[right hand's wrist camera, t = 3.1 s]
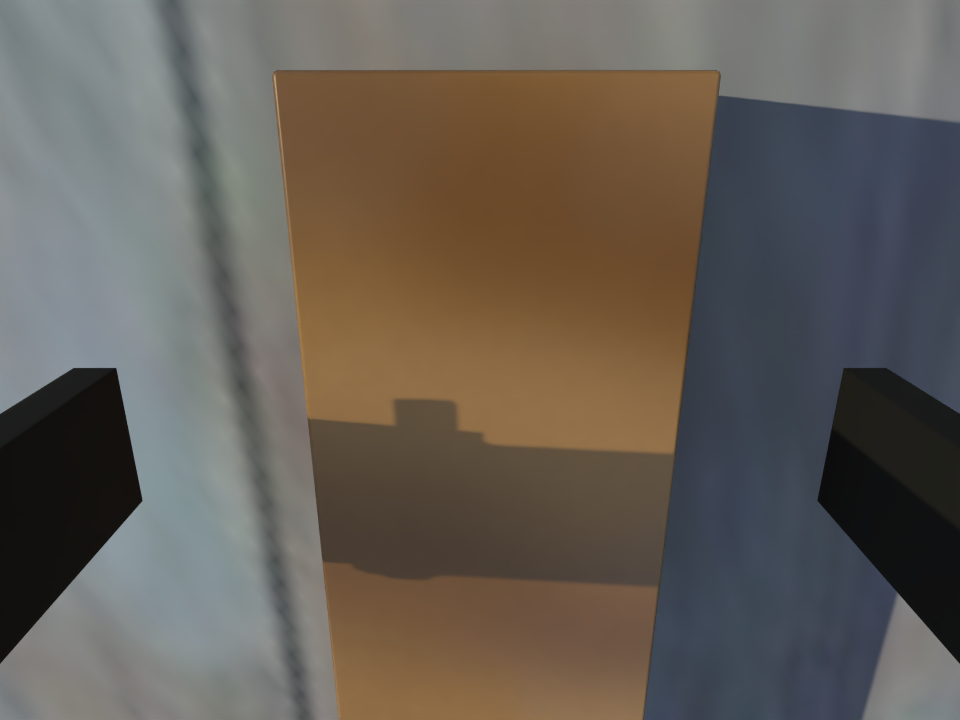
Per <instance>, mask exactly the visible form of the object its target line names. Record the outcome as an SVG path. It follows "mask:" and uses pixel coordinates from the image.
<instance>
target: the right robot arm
mask: <svg viewBox="0 0 960 720" xmlns="http://www.w3.org/2000/svg"><path fill="white" fill-rule="evenodd" d="M141 502H142V496H141V491H140V485H139V480H138V475H137V470H136V465H135V460H134V455H133V450H132V445H131V440H130V435H129V430H128V425H127V420H126V415H125V410H124V405H123V400H122V395H121V390H120V385H119V380H118V375H117V370H116V368H73V369H72V370H70V371H68V372H67V373H65V374H64V375H62V376H60V377H59V378H57V379H56V380H54V381H52V382H51V383H49V384H48V385H46V386H44V387H43V388H41V389H40V390H38V391H36V392H35V393H33V394H32V395H30V396H28V397H27V398H25V399H23V400H22V401H20V402H19V403H17V404H15V405H14V406H12V407H11V408H9V409H7V410H6V411H4V412H3V413H1V414H0V663H1V662H2V661H3V660H4V659H5V658H6V656H7V655H8V654H9V653H10V652H11V651H12V650H13V648H14V647H15V646H16V645H17V644H18V643H19V642H20V640H21V639H22V638H23V637H24V636H25V635H26V634H27V632H28V631H29V630H30V629H31V628H32V627H33V626H34V624H35V623H36V622H37V621H38V620H39V619H40V617H41V616H42V615H43V614H44V613H45V612H46V611H47V609H48V608H49V607H50V606H51V605H52V604H53V603H54V601H55V600H56V599H57V598H58V597H59V596H60V595H61V593H62V592H63V591H64V590H65V589H66V588H67V587H68V585H69V584H70V583H71V582H72V581H73V580H74V579H75V577H76V576H77V575H78V574H79V573H80V572H81V571H82V569H83V568H84V567H85V566H86V565H87V564H88V563H89V561H90V560H91V559H92V558H93V557H94V556H95V555H96V553H97V552H98V551H99V550H100V549H101V548H102V547H103V545H104V544H105V543H106V542H107V541H108V540H109V539H110V537H111V536H112V535H113V534H114V533H115V532H116V530H117V529H118V528H119V527H120V526H121V525H122V524H123V522H124V521H125V520H126V519H127V518H128V517H129V516H130V514H131V513H132V512H133V511H134V510H135V509H136V508H137V506H138V505H139V504H140V503H141ZM818 502H819V503H820V504H821V505H822V506H823V508H824V509H825V510H826V511H827V512H828V513H829V514H830V516H831V517H832V518H833V519H834V520H835V521H836V522H837V524H838V525H839V526H840V527H841V528H842V529H843V531H844V532H845V533H846V534H847V535H848V536H849V537H850V539H851V540H852V541H853V542H854V543H855V544H856V545H857V547H858V548H859V549H860V550H861V551H862V552H863V553H864V555H865V556H866V557H867V558H868V559H869V560H870V561H871V563H872V564H873V565H874V566H875V567H876V568H877V569H878V571H879V572H880V573H881V574H882V575H883V576H884V577H885V579H886V580H887V581H888V582H889V583H890V584H891V585H892V587H893V588H894V589H895V590H896V591H897V592H898V593H899V595H900V596H901V597H902V598H903V599H904V600H905V601H906V603H907V604H908V605H909V606H910V607H911V608H912V609H913V611H914V612H915V613H916V614H917V615H918V616H919V617H920V619H921V620H922V621H923V622H924V623H925V624H926V626H927V627H928V628H929V629H930V630H931V631H932V632H933V634H934V635H935V636H936V637H937V638H938V639H939V640H940V642H941V643H942V644H943V645H944V646H945V647H946V648H947V650H948V651H949V652H950V653H951V654H952V655H953V656H954V658H955V659H956V660H957V661H958V662H959V663H960V414H959V413H957V412H956V411H954V410H953V409H951V408H949V407H948V406H946V405H945V404H943V403H941V402H940V401H938V400H936V399H935V398H933V397H932V396H930V395H928V394H927V393H925V392H924V391H922V390H920V389H919V388H917V387H916V386H914V385H912V384H911V383H909V382H908V381H906V380H904V379H903V378H901V377H900V376H898V375H896V374H895V373H893V372H892V371H890V370H888V369H887V368H844V370H843V375H842V380H841V385H840V390H839V395H838V400H837V405H836V410H835V415H834V420H833V425H832V430H831V435H830V440H829V445H828V450H827V455H826V460H825V465H824V470H823V475H822V480H821V485H820V491H819V496H818Z"/></svg>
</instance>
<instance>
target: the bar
mask: <svg viewBox="0 0 960 720" xmlns="http://www.w3.org/2000/svg"><path fill="white" fill-rule="evenodd" d="M272 78H273V88H274V98H275V107H276V117H277V127H278V136H279V146H280V155H281V165H282V175H283V184H284V194H285V204H286V213H287V223H288V233H289V242H290V252H291V262H292V271H293V281H294V291H295V300H296V310H297V320H298V329H299V339H300V349H301V358H302V368H303V378H304V387H305V397H306V407H307V416H308V426H309V436H310V445H311V455H312V465H313V474H314V484H315V494H316V503H317V513H318V523H319V532H320V542H321V552H322V561H323V571H324V581H325V590H326V600H327V610H328V619H329V629H330V639H331V648H332V658H333V667H334V677H335V687H336V696H337V706H338V716H339V720H644V712H645V704H646V695H647V687H648V679H649V670H650V662H651V654H652V645H653V637H654V629H655V620H656V612H657V604H658V595H659V587H660V579H661V570H662V562H663V554H664V545H665V537H666V529H667V520H668V512H669V504H670V495H671V487H672V479H673V470H674V462H675V453H676V445H677V437H678V428H679V420H680V412H681V403H682V395H683V387H684V378H685V370H686V362H687V353H688V345H689V337H690V328H691V320H692V312H693V303H694V295H695V287H696V278H697V270H698V262H699V253H700V245H701V236H702V228H703V220H704V211H705V203H706V195H707V186H708V178H709V170H710V161H711V153H712V145H713V136H714V128H715V120H716V111H717V103H718V95H719V86H720V78H721V75H720V72H719V71H717V70H277V71H275V72H273V75H272Z"/></svg>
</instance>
